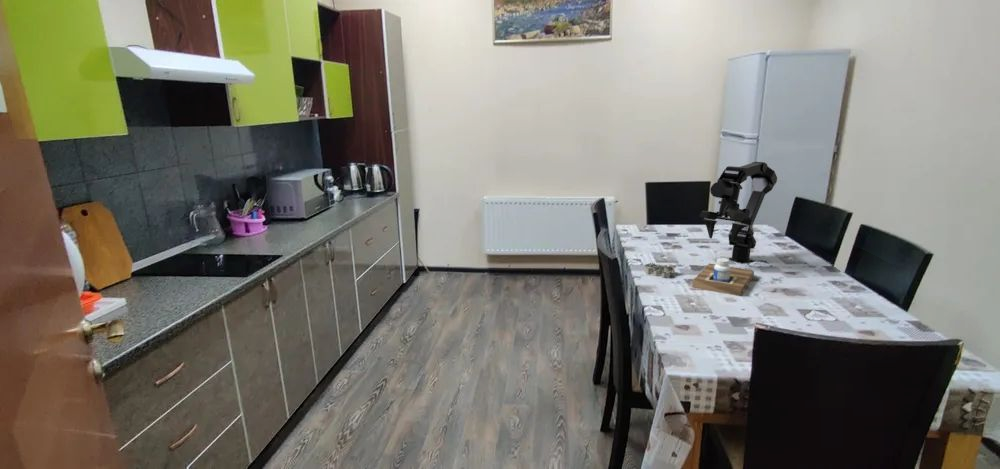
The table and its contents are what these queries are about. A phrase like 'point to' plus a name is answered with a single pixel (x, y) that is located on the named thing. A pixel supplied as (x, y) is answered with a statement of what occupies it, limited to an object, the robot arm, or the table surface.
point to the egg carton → (660, 270)
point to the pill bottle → (722, 270)
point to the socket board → (734, 287)
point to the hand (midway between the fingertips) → (721, 239)
